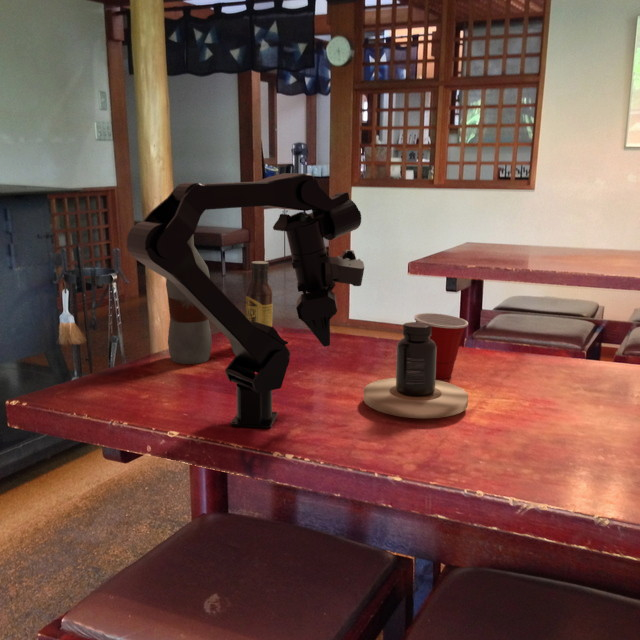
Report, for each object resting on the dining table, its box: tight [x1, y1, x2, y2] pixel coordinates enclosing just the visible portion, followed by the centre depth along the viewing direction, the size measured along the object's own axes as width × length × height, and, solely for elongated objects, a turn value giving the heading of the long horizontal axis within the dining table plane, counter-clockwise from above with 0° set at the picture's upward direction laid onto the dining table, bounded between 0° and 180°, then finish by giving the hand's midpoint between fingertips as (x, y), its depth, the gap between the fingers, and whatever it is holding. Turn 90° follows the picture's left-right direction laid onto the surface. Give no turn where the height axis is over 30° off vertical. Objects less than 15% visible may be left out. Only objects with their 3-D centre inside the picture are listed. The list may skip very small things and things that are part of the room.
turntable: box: [363, 377, 469, 419], centre depth 117 cm, size 18×18×2 cm
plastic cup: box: [413, 312, 469, 380], centre depth 135 cm, size 11×11×12 cm
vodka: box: [165, 234, 213, 365], centre depth 142 cm, size 9×9×30 cm
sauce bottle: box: [245, 260, 274, 327], centre depth 156 cm, size 6×6×20 cm
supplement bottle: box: [395, 321, 437, 397], centre depth 115 cm, size 7×7×12 cm
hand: (326, 334), depth 115 cm, fingers open, 9 cm apart
